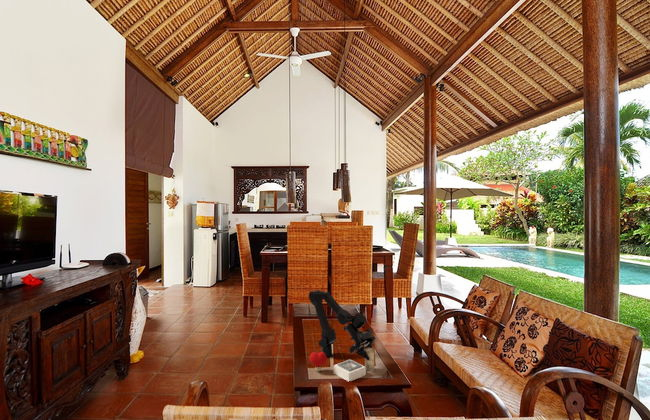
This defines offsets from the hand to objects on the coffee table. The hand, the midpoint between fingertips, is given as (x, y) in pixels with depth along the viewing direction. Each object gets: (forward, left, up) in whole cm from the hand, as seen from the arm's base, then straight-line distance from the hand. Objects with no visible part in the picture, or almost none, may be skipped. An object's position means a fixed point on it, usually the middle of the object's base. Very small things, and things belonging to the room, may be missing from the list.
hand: (371, 358), depth 181 cm
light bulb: (-17, -23, -7) cm, 30 cm away
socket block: (-4, -12, -7) cm, 15 cm away
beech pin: (-1, 0, -7) cm, 7 cm away
